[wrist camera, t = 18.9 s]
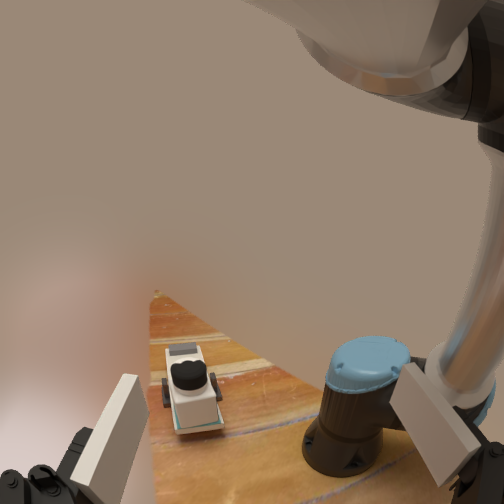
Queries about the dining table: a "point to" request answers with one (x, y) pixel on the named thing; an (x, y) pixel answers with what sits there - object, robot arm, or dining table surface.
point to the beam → (171, 356)
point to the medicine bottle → (192, 393)
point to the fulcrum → (167, 393)
